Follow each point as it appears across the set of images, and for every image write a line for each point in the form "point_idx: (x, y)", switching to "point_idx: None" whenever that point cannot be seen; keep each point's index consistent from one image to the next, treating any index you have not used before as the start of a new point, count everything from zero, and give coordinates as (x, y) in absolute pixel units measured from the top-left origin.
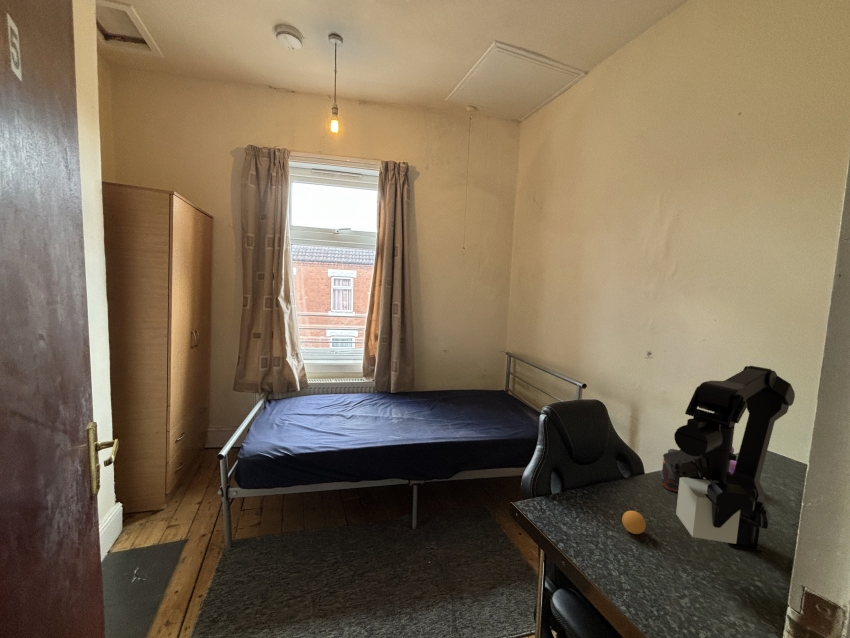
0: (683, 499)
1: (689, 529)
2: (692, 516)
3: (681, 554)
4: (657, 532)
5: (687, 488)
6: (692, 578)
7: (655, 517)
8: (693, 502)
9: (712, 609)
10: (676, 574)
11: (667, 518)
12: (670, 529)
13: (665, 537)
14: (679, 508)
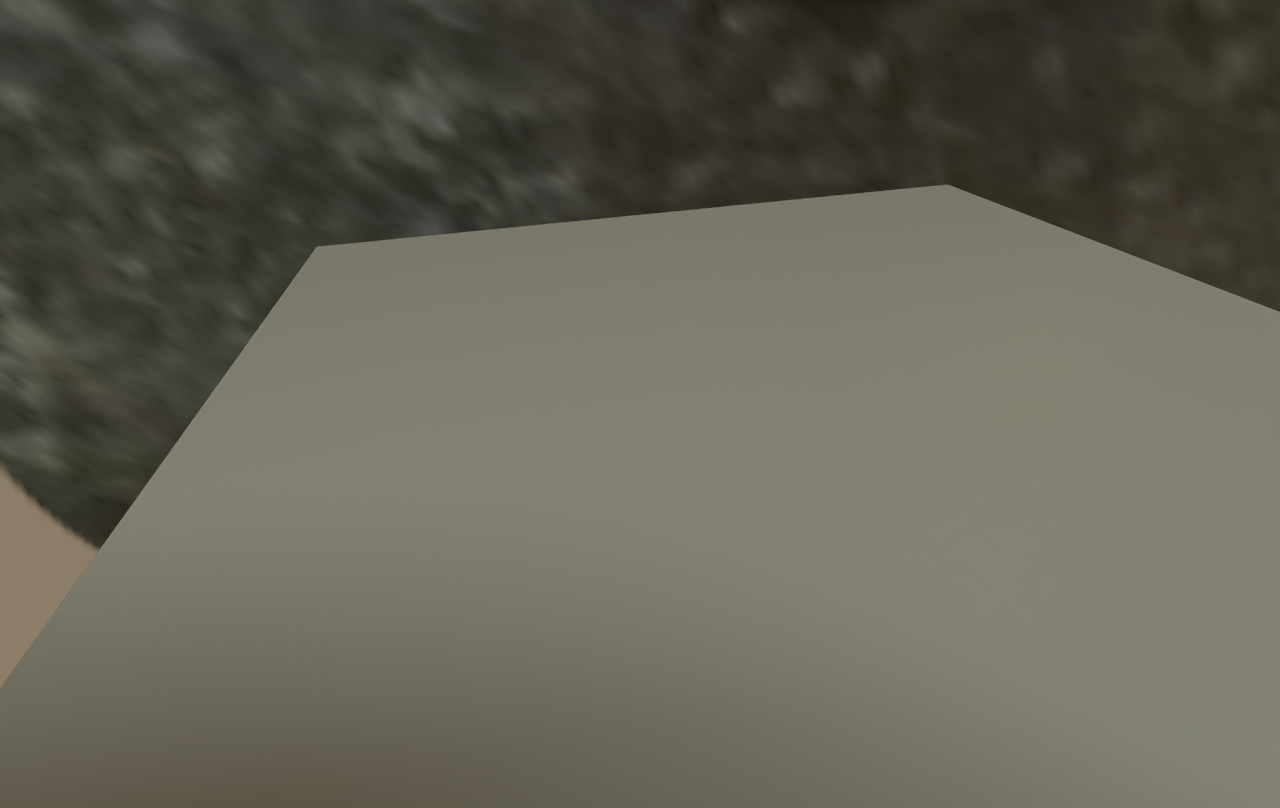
0: (947, 354)
1: (444, 248)
2: (334, 369)
3: (730, 186)
4: (1018, 50)
5: (1104, 749)
6: (407, 177)
7: (1248, 109)
8: (282, 624)
9: (41, 218)
10: (397, 34)
11: (1233, 225)
12: (1077, 201)
13: (952, 111)
14: (928, 234)
